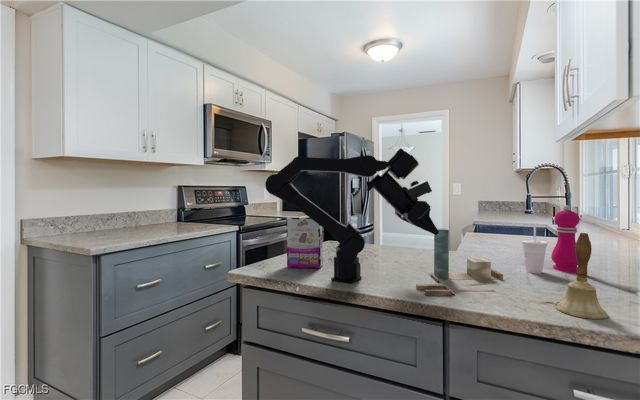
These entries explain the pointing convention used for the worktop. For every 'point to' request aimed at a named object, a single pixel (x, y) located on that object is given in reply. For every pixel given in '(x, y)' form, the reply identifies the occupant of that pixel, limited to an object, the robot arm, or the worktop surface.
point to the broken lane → (445, 289)
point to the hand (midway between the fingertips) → (432, 231)
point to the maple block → (479, 268)
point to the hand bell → (582, 287)
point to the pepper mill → (565, 241)
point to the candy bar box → (304, 243)
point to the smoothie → (534, 254)
